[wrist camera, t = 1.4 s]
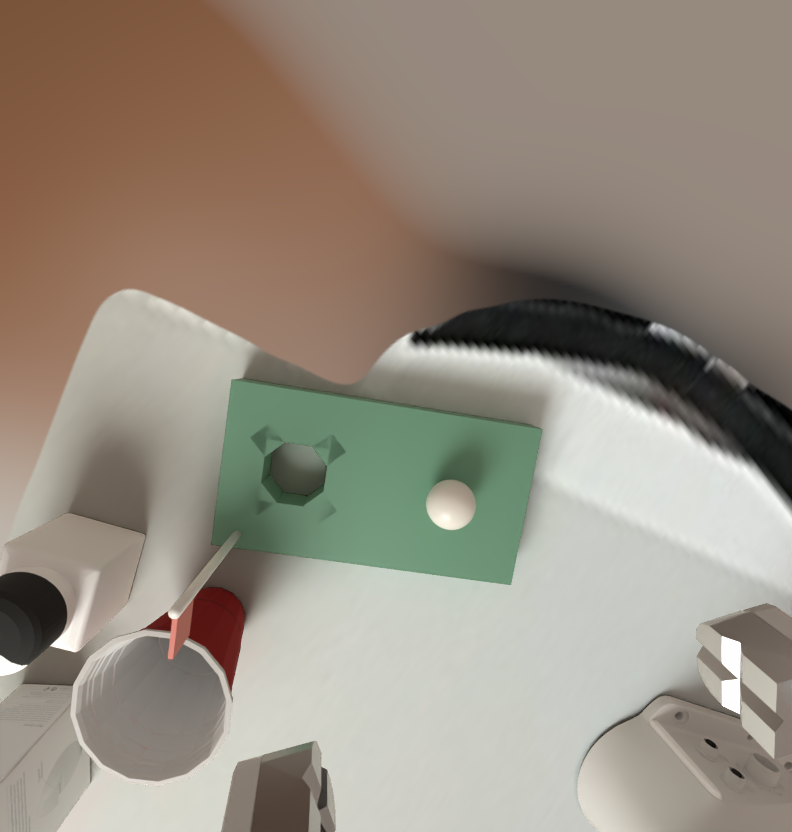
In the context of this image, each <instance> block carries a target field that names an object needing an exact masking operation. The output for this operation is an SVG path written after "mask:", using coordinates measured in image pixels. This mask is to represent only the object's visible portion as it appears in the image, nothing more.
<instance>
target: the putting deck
mask: <svg viewBox="0 0 792 832" xmlns="http://www.w3.org/2000/svg"><path fill="white" fill-rule="evenodd" d="M541 434H542V429H540V428H538V427H535V426H533V425H530V424H524V423H518V422H511V421H505V420H499V419H493V418H486V417H480V416H474V415H468V414H461V413H455V412H449V411H443V410H436V409H430V408H424V407H418V406H411V405H405V404H399V403H393V402H386V401H380V400H374V399H368V398H361V397H355V396H349V395H343V394H336V393H330V392H324V391H318V390H311V389H305V388H299V387H293V386H286V385H280V384H274V383H268V382H261V381H255V380H249V379H243V378H242V379H234V380H231V388H230V397H229V405H228V413H227V421H226V429H225V437H224V445H223V453H222V461H221V469H220V477H219V485H218V493H217V501H216V510H215V518H214V526H213V534H212V542H211V545H217V546H222V547H221V548H220V549H219V550H218V551H217V553H216V554H215V555H214V556H213V557H212V559H211V560H210V561H209V562H208V564H207V565H206V566H205V567H204V568H203V570H202V571H201V572H200V573H199V574H198V576H197V577H196V578H195V579H194V581H193V582H192V583H191V584H190V585H189V587H188V588H187V589H186V590H185V591H184V593H183V594H182V595H181V596H180V598H179V599H178V600H177V601H176V602H175V604H174V605H173V606H172V607H171V608H170V610H169V611H168V616H169V617H170V618H171V619H172V625H171V634H170V643H169V651H168V659H172V660H173V659H174V657H175V656H176V654H177V653H178V651H179V650H180V648H181V647H182V645H183V644H184V642H185V641H186V639H187V638H188V636H189V634H190V626H191V617H192V609H193V601H194V597H195V596H196V594H197V593H198V592H199V590H200V589H201V588H202V587H203V585H204V584H205V583H206V581H207V580H208V579H209V577H210V576H211V575H212V573H213V572H214V571H215V569H216V568H217V567H218V566H219V564H220V563H221V562H222V560H223V559H224V558H225V556H226V555H227V554H228V552H229V551H230V550H231V548H239V549H247V550H254V551H262V552H269V553H276V554H284V555H291V556H299V557H306V558H314V559H321V560H328V561H336V562H343V563H351V564H358V565H366V566H373V567H380V568H388V569H395V570H403V571H410V572H418V573H425V574H432V575H440V576H447V577H455V578H462V579H470V580H477V581H484V582H492V583H499V584H507V585H511V582H512V577H513V572H514V567H515V562H516V557H517V552H518V547H519V542H520V537H521V532H522V528H523V523H524V518H525V513H526V508H527V503H528V498H529V493H530V488H531V483H532V478H533V473H534V468H535V463H536V459H537V454H538V449H539V444H540V439H541ZM285 442H287V443H294V444H300V445H307V446H312V447H313V449H314V450H315V451H316V453H317V454H318V455H319V457H320V458H321V459H322V461H323V462H324V463H325V465H326V466H327V471H326V478H325V484H324V485H323V486H321V487H320V488H318V489H317V490H316V491H314V492H313V493H311V494H310V495H309V496H305V495H298V494H291V493H284V492H283V491H282V489H281V488H280V487H279V486H278V484H277V483H276V482H275V480H274V479H273V478H272V477H271V475H269V472H270V465H271V458H272V451H274V450H275V449H277V448H278V447H279V446H281V445H282V444H284V443H285ZM450 479H451V480H457V481H460V482H462V483H464V484H465V485H467V486H468V487H469V488H470V489H471V491H472V492H473V494H474V497H475V500H476V510H475V514H474V516H473V518H472V520H471V521H470V522H469V523H468V524H467V525H466V526H464V527H462V528H460V529H457V530H447V529H443V528H441V527H439V526H437V525H436V524H435V523H434V522H433V521H432V520H431V518H430V517H429V515H428V512H427V508H426V500H427V496H428V493H429V492H430V490H431V489H432V487H433V486H434V485H436V484H437V483H439V482H441V481H444V480H450Z"/></svg>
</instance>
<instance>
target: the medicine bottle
mask: <svg viewBox="0 0 792 832" xmlns="http://www.w3.org/2000/svg"><path fill="white" fill-rule="evenodd" d="M144 540H145V535H144V534H143V533H139V532H136V531H132V530H128V529H125V528H121V527H118V526H114V525H111V524H107V523H104V522H100V521H96V520H93V519H89V518H86V517H82V516H79V515H75V514H71V513H66V514H64V515H62V516H60V517H58V518H56V519H54V520H52V521H50V522H48V523H46V524H44V525H42V526H40V527H38V528H36V529H34V530H32V531H30V532H28V533H26V534H24V535H22V536H20V537H18V538H16V539H14V540H12V541H10V542H8V543H6V544H5V545H4V547H3V550H2V554H1V559H0V676H2V675H8V674H12V673H15V672H18V671H20V670H22V669H23V668H25V667H26V666H27V665H29V664H30V663H31V662H32V661H33V660H34V659H36V658H37V657H38V656H39V655H40V654H41V653H42V652H44V651H45V650H46V649H47V648H48V647H49V646H52V647H56V648H60V649H64V650H68V651H72V652H77V651H79V650H81V649H82V648H83V647H84V646H85V645H86V644H87V643H88V642H89V641H90V640H91V639H92V638H93V637H94V636H95V635H96V634H97V633H98V632H99V631H100V630H101V629H102V628H103V627H104V626H105V625H106V624H107V623H108V622H109V621H110V620H111V619H112V618H113V617H114V616H115V615H116V614H117V613H118V612H119V611H120V610H121V609H122V608H123V607H124V606H125V605H126V604H127V602H128V598H129V594H130V591H131V587H132V584H133V580H134V576H135V573H136V569H137V565H138V562H139V558H140V555H141V551H142V547H143V544H144Z"/></svg>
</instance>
